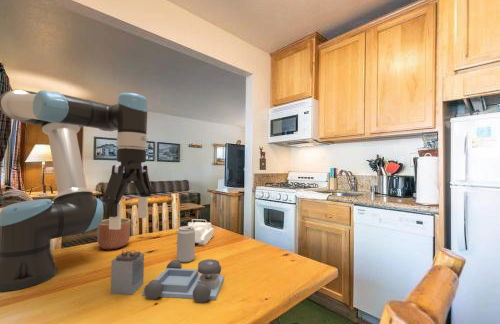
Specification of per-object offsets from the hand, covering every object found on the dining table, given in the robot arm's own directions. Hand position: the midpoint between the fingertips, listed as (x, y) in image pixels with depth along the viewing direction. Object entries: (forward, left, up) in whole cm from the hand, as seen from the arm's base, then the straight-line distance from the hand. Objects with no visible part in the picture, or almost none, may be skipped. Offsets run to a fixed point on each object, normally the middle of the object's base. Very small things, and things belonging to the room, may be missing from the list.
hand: (130, 222), depth 68 cm
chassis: (+16, +3, -18) cm, 25 cm away
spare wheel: (+22, +3, -15) cm, 27 cm away
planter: (-26, +32, -19) cm, 45 cm away
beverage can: (+9, +22, -19) cm, 30 cm away
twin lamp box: (0, 0, -19) cm, 19 cm away
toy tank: (+6, +43, -19) cm, 47 cm away
